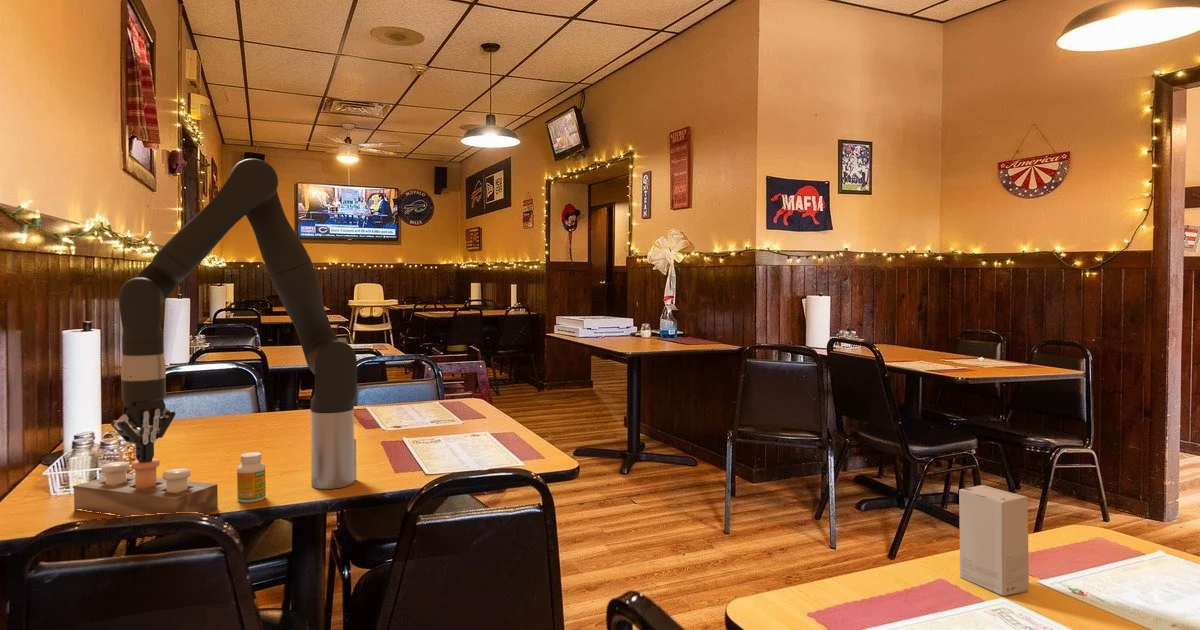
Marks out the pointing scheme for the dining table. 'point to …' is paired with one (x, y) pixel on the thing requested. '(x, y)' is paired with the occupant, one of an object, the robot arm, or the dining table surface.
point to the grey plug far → (115, 472)
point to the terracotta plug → (145, 473)
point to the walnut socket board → (144, 498)
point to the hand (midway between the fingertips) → (145, 461)
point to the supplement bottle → (251, 478)
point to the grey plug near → (176, 479)
